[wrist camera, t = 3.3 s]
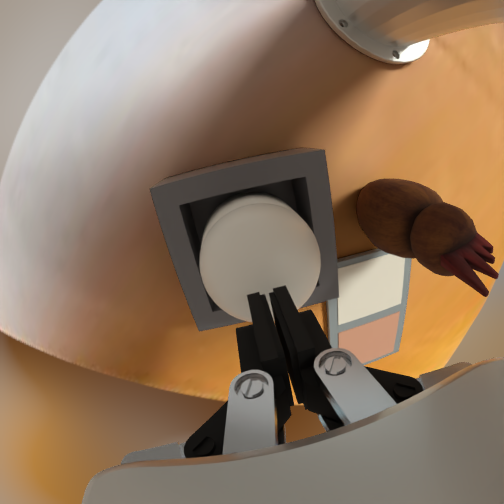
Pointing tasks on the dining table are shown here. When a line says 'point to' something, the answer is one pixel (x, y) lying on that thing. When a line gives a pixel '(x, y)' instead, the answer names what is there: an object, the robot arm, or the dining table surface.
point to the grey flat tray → (369, 304)
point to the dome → (257, 253)
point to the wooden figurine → (424, 230)
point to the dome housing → (236, 182)
